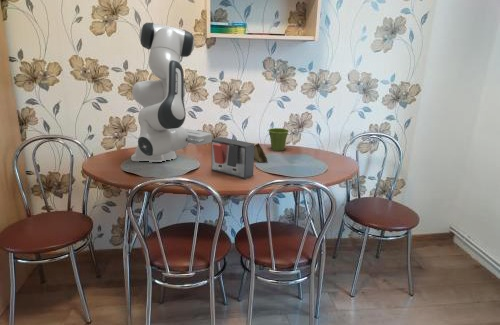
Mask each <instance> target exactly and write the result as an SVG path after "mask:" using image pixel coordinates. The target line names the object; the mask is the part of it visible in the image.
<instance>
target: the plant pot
mask: <svg viewBox="0 0 500 325" xmlns="http://www.w3.org/2000/svg"><path fill="white" fill-rule="evenodd" d="M267 132H269V139H270V147H271V149H272V151H276V152H278V151H281V152H282V151H284V150H285V146H286V140H287V137H288V133H289V132H290V130H289V129H287V128H281V127H274V128H269V129H268V130H267Z"/></svg>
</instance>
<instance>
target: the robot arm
mask: <svg viewBox="0 0 500 325" xmlns="http://www.w3.org/2000/svg"><path fill="white" fill-rule="evenodd" d="M138 38H139V42H140V45H141V47H143V48H144V49H146V50H149V57H148V66H149V69H150V70H151V73H152V74H153V75H154V76H155V77H157V79H158V80H156V79H155V80H154V79H153V80H142V81H137V82H135V83H134V84H133V86H132V90H131V95H132V97H133V99H134V100H135V102H137V103H138V104H139V105H140V106H141V107H142V109H141V110H140V111H139V113H138V123H139V128H140V130H139V131H140V132H139V133H140V134H139V136H138V139H137V146H136V147H135V152H134V153H133V154H131V157H130V160H131V161H132V162H139V161H149V162H148V163H152V162H162V161H165V162H167V161H166V160H170V161H172V160H171V159H173V160H175V159H176V158H178V157H177V154H176V152H177V151H180V150H184V149H186V148H187V147H188V145H189V144H191V145H197V146H201V145H206V144H212V139H213V134H212V133H210V132H206V131H204V130H201V129H194V130H193V129H189V128H184V127H183V125H184V123H185V120H186V116H187V115H186V113H187V112H186V108H185V101H184V99H185V95H186V88H185V85H184V82H185V80H184V69H183V66H182V65H181V63H180V57H181V58H185V57H186V58H188V57H190V56H192V53H193V51H194V49H195V45H196V44H195V42H196V41H195V38H194V35H193V33H192V32H190V31H187V30H184V29H180V28H178V27H176V26H175V27H174V26H171V25H170V26H169V25H165V24H164V25H163V24H159V23H158V24H157V23H154V22H145V23H144V24H142V26H141V28H140V31H139V37H138ZM162 163H163V162H162Z"/></svg>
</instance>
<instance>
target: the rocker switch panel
mask: <svg viewBox="0 0 500 325" xmlns="http://www.w3.org/2000/svg"><path fill="white" fill-rule="evenodd" d="M213 144H219V145H222V153H223V162H224V163H223V164H219V163H215V158H214V150H213ZM229 145H234V146H239V147H238V155H237V163H236V167H232V166H228V165H227V162H228V153H229ZM254 146H255V143H253V142H249V141H248V142H247V141H243V140H238V139H233V138H227V137H223V136H218V137H215V138H212V142H211V172H215V173H219V174H223V175H227V176H230V177H234V178H238V179H240V180H241V179H242V180H247V179H250V178H252V177H254V166H255V165H254V164H255V159H254Z"/></svg>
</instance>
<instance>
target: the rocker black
mask: <svg viewBox="0 0 500 325" xmlns="http://www.w3.org/2000/svg"><path fill="white" fill-rule="evenodd" d="M238 147H239V146H234V145H229V153H228V162H227V165H228V166H232V167H236V163H237V155H238Z"/></svg>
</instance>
